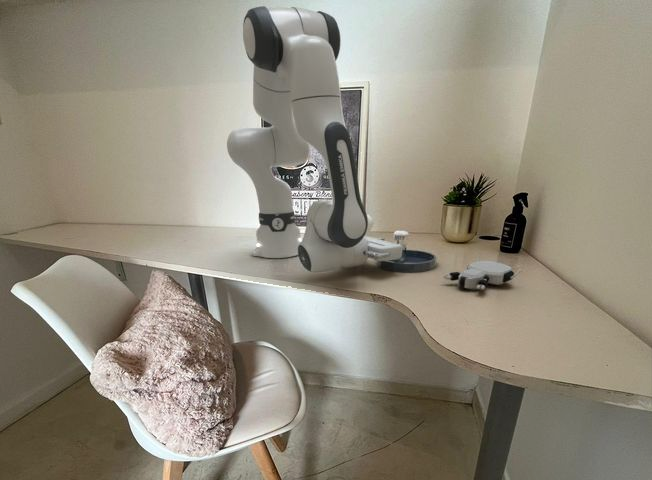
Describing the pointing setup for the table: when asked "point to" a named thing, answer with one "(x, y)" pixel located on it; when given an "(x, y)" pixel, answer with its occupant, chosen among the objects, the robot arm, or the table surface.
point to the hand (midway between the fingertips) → (393, 243)
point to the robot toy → (482, 275)
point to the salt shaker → (401, 238)
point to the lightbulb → (369, 225)
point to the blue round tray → (411, 262)
